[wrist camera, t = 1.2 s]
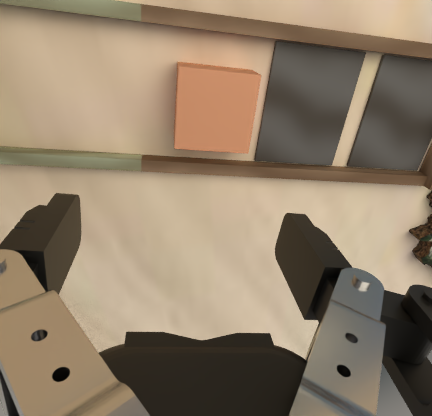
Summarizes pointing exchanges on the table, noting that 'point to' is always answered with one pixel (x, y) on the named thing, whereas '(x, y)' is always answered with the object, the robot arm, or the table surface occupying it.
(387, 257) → the table surface
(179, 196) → the table surface
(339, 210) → the table surface
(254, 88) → the block
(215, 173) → the lane
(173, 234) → the table surface
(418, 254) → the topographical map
